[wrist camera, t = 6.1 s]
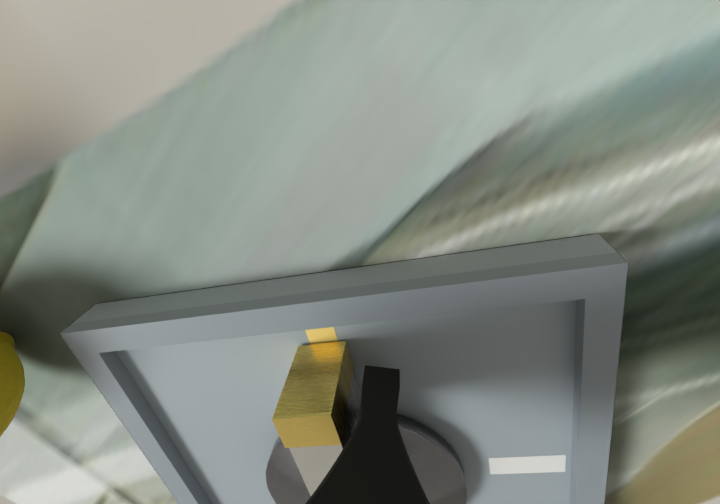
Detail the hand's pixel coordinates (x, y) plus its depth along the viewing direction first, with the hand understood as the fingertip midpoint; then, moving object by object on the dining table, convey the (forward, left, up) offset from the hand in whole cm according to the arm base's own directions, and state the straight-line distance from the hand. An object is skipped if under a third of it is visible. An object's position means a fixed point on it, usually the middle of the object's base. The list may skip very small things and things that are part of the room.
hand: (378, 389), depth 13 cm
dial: (-4, +2, -1) cm, 5 cm away
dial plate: (-6, +2, -2) cm, 6 cm away
